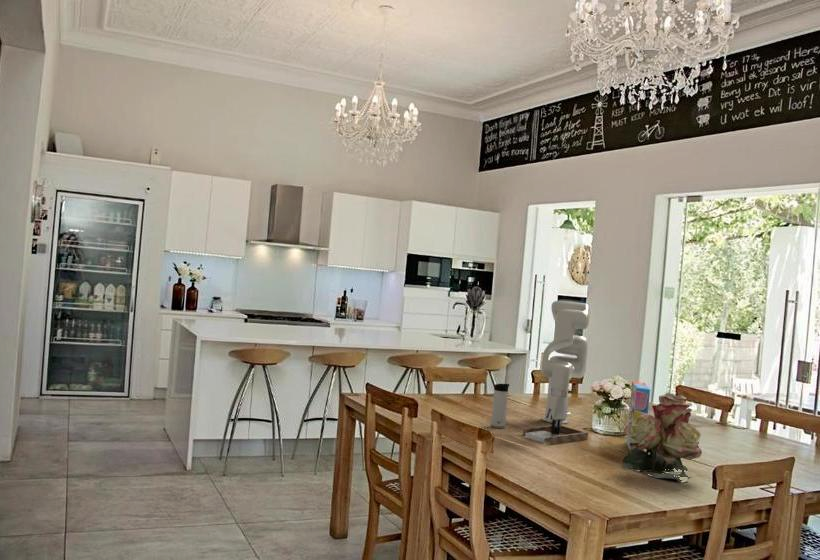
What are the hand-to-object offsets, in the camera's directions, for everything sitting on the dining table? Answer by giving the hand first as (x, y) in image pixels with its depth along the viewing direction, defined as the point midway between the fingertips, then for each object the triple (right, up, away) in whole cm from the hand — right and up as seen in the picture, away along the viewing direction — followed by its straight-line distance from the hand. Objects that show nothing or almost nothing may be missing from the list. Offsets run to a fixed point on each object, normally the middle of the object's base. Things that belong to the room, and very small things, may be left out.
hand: (554, 435), depth 320 cm
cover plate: (-6, -1, -5) cm, 8 cm away
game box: (+33, -5, -4) cm, 34 cm away
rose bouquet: (+33, -6, -40) cm, 52 cm away
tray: (-1, -2, 0) cm, 2 cm away
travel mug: (-23, 0, +13) cm, 27 cm away
